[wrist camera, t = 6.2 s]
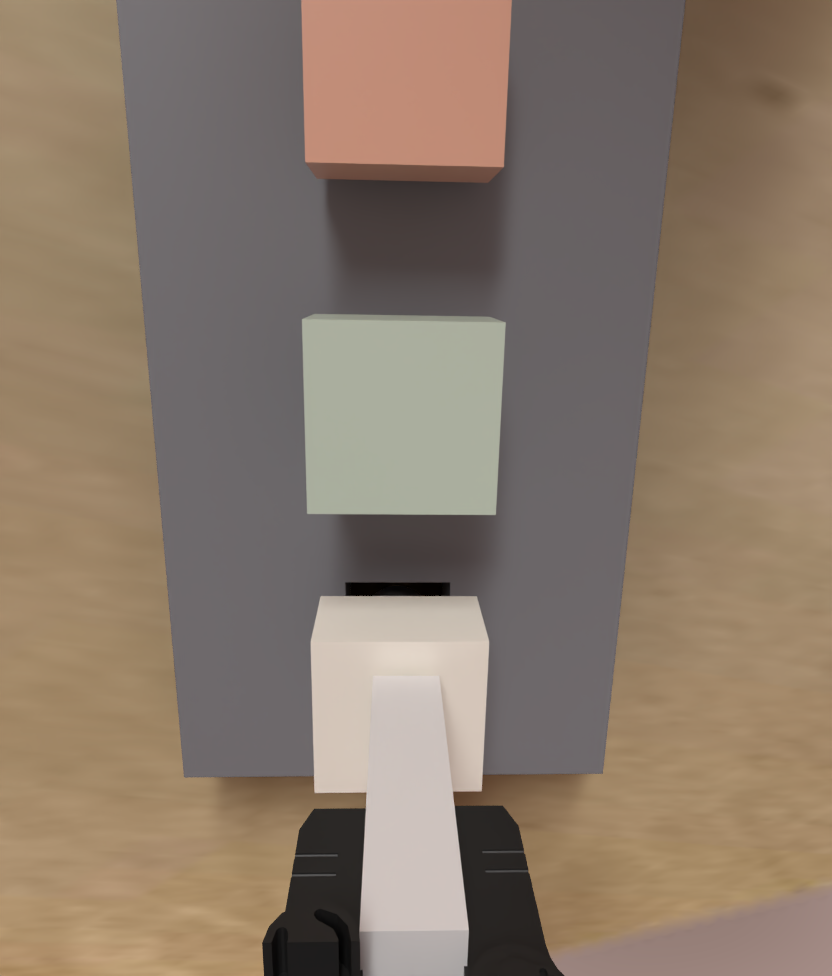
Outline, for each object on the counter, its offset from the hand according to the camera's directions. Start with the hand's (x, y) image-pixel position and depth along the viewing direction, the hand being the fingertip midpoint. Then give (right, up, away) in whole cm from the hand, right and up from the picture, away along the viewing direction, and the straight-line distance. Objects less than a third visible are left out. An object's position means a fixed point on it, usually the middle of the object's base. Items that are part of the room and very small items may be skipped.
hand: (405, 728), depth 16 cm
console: (0, +9, +5) cm, 10 cm away
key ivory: (0, +2, +5) cm, 6 cm away
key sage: (0, +8, +3) cm, 9 cm away
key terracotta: (0, +15, +3) cm, 16 cm away
